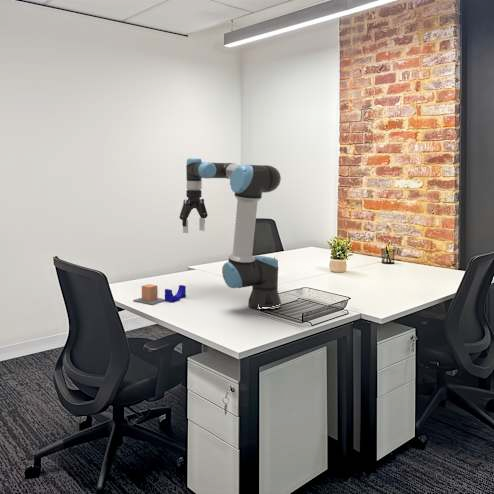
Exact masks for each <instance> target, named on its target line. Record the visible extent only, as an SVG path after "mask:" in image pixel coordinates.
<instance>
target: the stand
mask: <svg viewBox="0 0 494 494" xmlns="http://www.w3.org/2000/svg"><path fill="white" fill-rule="evenodd" d="M132 301H133V302H136V303H140V304H145V305H151V306H154V305H157V304H160V303H164V302H165V298H160V297H158V299H157V300H154V301H151V302H149V301H144V300H142V297H139V298H136V299H133V300H132Z"/></svg>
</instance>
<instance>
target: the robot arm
mask: <svg viewBox="0 0 494 494" xmlns="http://www.w3.org/2000/svg"><path fill="white" fill-rule="evenodd" d="M185 167H186V194H185V195H186V198H187V199H183V203H182V207H181V211H180V213H179V216H178V218H179V219H180V220H181V221H182V234H189V219H188V218H189V216H190V214H191V212H192V210H193V209H195V210H196V211H197V213H198V215H199V220H198V221H199V224H198V225H199V227H198V228H199V231H202V232H203V231H204V232H205V224H206V218H207V217H208V211H207V209H206V205H205V199H204V198H202V194H203V193H202V188H203V186H202V185H203V183H202V182H203V181H202V179H227V180H229V185H230V189H231V191H232V192H233V193H234V197H235V198H236V199H237V202H236V213H235V225H234V226H235V227H234V234H233V245H232V253H231V254H230V255H228V261H226V262H224V263H223V265H222V267H221V268H222V269H221V270H222V271H221V272H222V278H223V280H224V282H225V284H226V286H227V287H229V288H231V289H241V288H247V287H248V288H249V287H251V289H252V290H251V292H250V295H249V297H248V301H247V303H248V304H247V306H248V307H249V308H250V309H253V310H257V307H258V304H259V307H260V308H262V307H272V306H276V305H279V304H281V305H282V301H281V298H280V294H279V290H278V285H279V261H278V259H277V258H274V257H271V256H270V257H269V256H265V255H253V252H254V251H253V249H254V241H255V240H254V239H255V230H256V221H257V211H258V202H259V201H260V200H261V199H262V195H263V193H270V192H273V191H275V190H276V189H277V188H278V187H279V185H280V184H281V179H282V177H281V173H280V171H279V170H278V169H277V168H275V166H271V165H268V164H267V165H263V164H262V165H261V164H260V165H259V164H237V163H235V162H234V163H233V162H210V161H207V162H206V161H205V162H203V161H202V158H197V157H196V158H194V157H193V158H192V157H191V158H190V157H189V158H187V160H186V166H185Z"/></svg>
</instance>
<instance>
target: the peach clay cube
mask: <svg viewBox="0 0 494 494" xmlns="http://www.w3.org/2000/svg"><path fill="white" fill-rule="evenodd" d="M141 298H142V300H144V301H149V302H151V301H154V300H157V299H158V298H159V295H158V285H157V284H152V283H149V284H143V285H141Z"/></svg>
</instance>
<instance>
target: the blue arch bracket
mask: <svg viewBox="0 0 494 494" xmlns="http://www.w3.org/2000/svg"><path fill="white" fill-rule="evenodd" d="M186 290H187V289H186V285H184V284H183V285H182V284H179V285H178V289H177V292H176V293H175V294H173V290H172V289H170V288H165V289H164V299H165V301H164V302H166V303H171V304H172V303H176V302H179V301H181V300H183V299H184V298H185V299H186V296H187V295H186V293H187V291H186Z"/></svg>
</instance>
